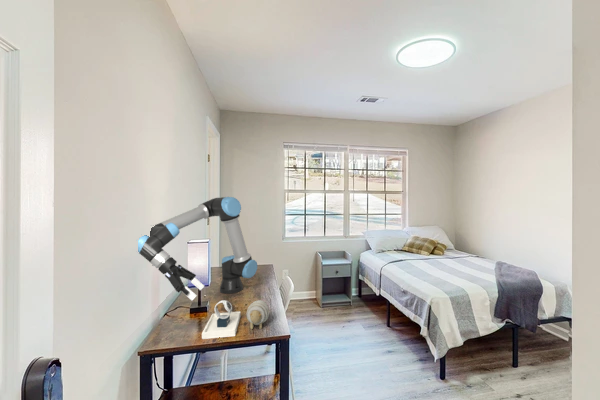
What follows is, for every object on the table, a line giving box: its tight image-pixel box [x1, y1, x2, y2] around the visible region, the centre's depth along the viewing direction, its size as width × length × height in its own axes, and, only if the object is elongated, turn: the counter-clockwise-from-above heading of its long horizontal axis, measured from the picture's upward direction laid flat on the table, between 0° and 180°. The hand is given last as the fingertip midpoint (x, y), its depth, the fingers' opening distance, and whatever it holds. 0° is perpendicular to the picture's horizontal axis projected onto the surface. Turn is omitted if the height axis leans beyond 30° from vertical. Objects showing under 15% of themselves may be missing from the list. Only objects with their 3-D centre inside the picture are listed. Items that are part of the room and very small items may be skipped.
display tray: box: [201, 310, 242, 340], centre depth 120 cm, size 20×14×2 cm
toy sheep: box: [246, 299, 270, 330], centre depth 121 cm, size 11×17×11 cm, turn 1°
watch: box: [214, 299, 233, 327], centre depth 120 cm, size 6×8×11 cm
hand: (198, 292), depth 119 cm, fingers open, 13 cm apart
